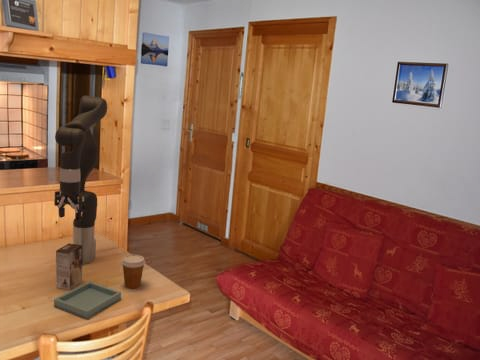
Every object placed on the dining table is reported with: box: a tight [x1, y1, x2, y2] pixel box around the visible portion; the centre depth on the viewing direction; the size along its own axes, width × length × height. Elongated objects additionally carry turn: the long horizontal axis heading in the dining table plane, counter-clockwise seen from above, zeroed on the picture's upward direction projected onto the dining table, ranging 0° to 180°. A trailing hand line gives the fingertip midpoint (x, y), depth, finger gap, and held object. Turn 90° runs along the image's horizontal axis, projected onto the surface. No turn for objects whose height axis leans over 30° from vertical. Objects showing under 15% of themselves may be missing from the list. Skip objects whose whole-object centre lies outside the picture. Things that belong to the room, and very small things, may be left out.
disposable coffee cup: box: [121, 254, 146, 290], centre depth 184 cm, size 10×10×12 cm
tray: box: [53, 281, 122, 320], centre depth 168 cm, size 18×16×3 cm
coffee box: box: [55, 242, 83, 291], centre depth 179 cm, size 9×6×16 cm
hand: (69, 219), depth 175 cm, fingers open, 8 cm apart
